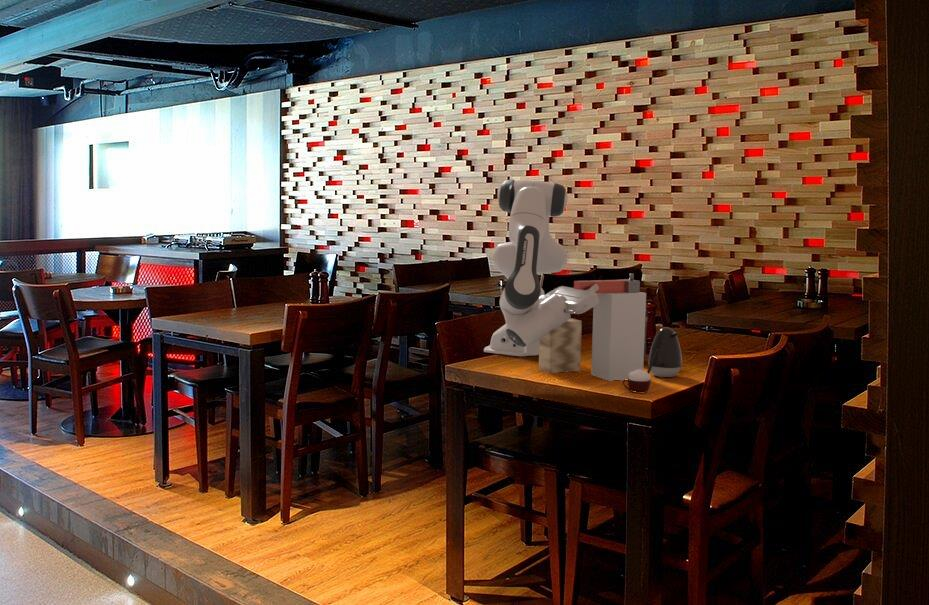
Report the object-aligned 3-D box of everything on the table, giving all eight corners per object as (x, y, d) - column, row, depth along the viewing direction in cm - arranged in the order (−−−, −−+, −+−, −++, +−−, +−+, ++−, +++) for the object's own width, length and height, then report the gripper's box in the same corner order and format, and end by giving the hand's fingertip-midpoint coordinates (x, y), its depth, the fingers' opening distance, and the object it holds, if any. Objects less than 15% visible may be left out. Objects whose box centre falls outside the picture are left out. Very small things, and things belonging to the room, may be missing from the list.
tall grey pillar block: (609, 381, 255) (612, 294, 253) (591, 375, 265) (593, 290, 262) (642, 378, 260) (646, 293, 257) (624, 372, 269) (627, 290, 266)
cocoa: (621, 393, 241) (620, 351, 240) (627, 388, 247) (626, 347, 245) (655, 395, 237) (654, 352, 235) (660, 390, 243) (659, 348, 241)
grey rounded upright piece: (661, 380, 258) (663, 330, 256) (640, 374, 267) (642, 325, 266) (688, 378, 262) (691, 328, 260) (667, 372, 272) (669, 324, 270)
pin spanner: (582, 294, 251) (582, 275, 250) (571, 292, 256) (572, 273, 256) (639, 292, 259) (640, 274, 258) (628, 290, 264) (628, 272, 264)
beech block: (549, 373, 266) (550, 322, 264) (538, 369, 273) (539, 319, 271) (580, 371, 271) (581, 320, 269) (568, 367, 277) (570, 318, 275)
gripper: (570, 304, 241) (607, 279, 245) (535, 297, 260) (570, 273, 264) (579, 323, 243) (616, 297, 247) (544, 314, 262) (579, 290, 266)
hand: (592, 285), depth 255 cm, fingers closed on pin spanner, 3 cm apart
